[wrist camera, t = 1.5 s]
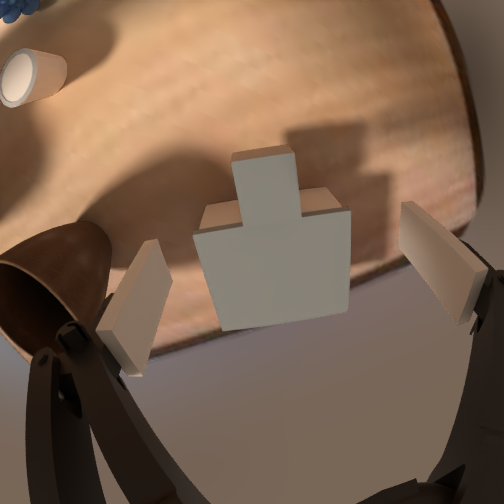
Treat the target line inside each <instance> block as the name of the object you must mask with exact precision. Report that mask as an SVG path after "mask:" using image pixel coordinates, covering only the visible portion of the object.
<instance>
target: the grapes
mask: <svg viewBox="0 0 504 504" xmlns="http://www.w3.org/2000/svg"><path fill="white" fill-rule="evenodd" d="M39 6H40V0H0V19H1V18H2V17H3V21H4V22H5V23H7V24H8V23H13V22H15V21H16V20H17V19H18V18H19V16H20V15H21V12H22V14H24V15H31V14H33V13H34V12H35V11H36V10H37V9H38V8H39Z"/></svg>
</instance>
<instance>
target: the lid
mask: <svg viewBox="0 0 504 504" xmlns="http://www.w3.org/2000/svg"><path fill="white" fill-rule="evenodd" d="M231 166H232V171H233V176H234V182H235V187H236V192H237V197H238V202H239V207H240V212H241V217H242V222H239V223H233V224H227V225H221V226H215V227H209V228H204V229H198V230H194V231H193V234H192V236H193V239H194V243H195V246H196V250H197V253H198V256H199V259H200V263H201V266H202V269H203V272H204V276H205V279H206V282H207V285H208V288H209V291H210V294H211V298H212V301H213V304H214V307H215V310H216V313H217V316H218V319H219V322H220V325H221V327H222V330H223V331H228V330H237V329H245V328H252V327H260V326H267V325H274V324H281V323H287V322H293V321H300V320H305V319H311V318H317V317H323V316H328V315H333V314H339V313H344V312H347V311H348V300H349V284H350V260H351V210H350V209H349V208H348V206H347V207H339V208H332V209H325V210H317V211H310V212H303V213H301V205H300V195H299V186H298V177H297V168H296V160H295V153H294V151H293V150H292V149H291V148H290V147H289V146H288V145H280V146H273V147H266V148H259V149H253V150H247V151H241V152H235V153H233V154H232V159H231Z"/></svg>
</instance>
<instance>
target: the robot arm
mask: <svg viewBox="0 0 504 504" xmlns="http://www.w3.org/2000/svg"><path fill="white" fill-rule="evenodd" d="M398 247H399V249H400V250H401V251H402V252H403V253H404V255H405V256H406V257H407V258H408V260H409V261H410V262H411V263H412V265H413V266H414V267H415V268H416V270H417V271H418V272H419V274H420V275H421V276H422V277H423V279H424V280H425V281H426V283H427V284H428V285H429V287H430V288H431V289H432V291H433V292H434V293H435V295H436V296H437V297H438V299H439V300H440V302H441V303H442V304H443V306H444V307H445V309H446V310H447V312H448V313H449V315H450V316H451V318H452V319H453V320H454V322H455V323H456V325H460V324H462V323H465V322H468V321H469V320H470V318H471V315H472V313H473V311H475V313H476V314H477V315H478V316H477V318H476V321H475V323H474V325H473V327H472V329H471V331H470V335H472V333H473V331H474V335H473V342H472V350H471V355H470V361H469V367H468V372H467V376H466V381H465V386H464V389H463V394H462V398H461V402H460V405H459V409H458V412H457V415H456V419H455V422H454V425H453V428H452V431H451V434H450V437H449V440H448V443H447V445H446V448H445V451H444V453H443V455H442V458H441V460H440V461H439V463H438V464H437V466H436V467H435V468H434V470H433V471H432V473H431V475H430V476H429V478H428V480H427V482H420V483H417V480H416V478H415V479H413V480H410V481H408V482H405V483H402V484H399V485H396V486H394V487H391V488H387V489H384V490H382V491H380V492H378V493H376V494H374V495H373V496H371V497H369V498H367V499H365V500H363V501H361V502H359V503H357V504H504V270H497V271H496V270H495V269H494V268H493V267H492V266H491V265H489V263H488V262H487V261H486V260H485V259H484V258H483V257H482V256H480V255H479V254H478V253H477V252H476V251H475V250H474V249H473V248H472V247H471V246H470V245H469V244H467V243H466V242H464V241H462V240H460V239H457V238H456V237H455V236H454V235H453V234H452V233H451V232H450V231H448V230H447V229H446V228H445V227H444V226H443V225H442V224H440V223H439V222H438V221H437V220H436V219H434V218H433V217H432V216H431V215H430V214H428V213H427V212H426V211H425V210H423V209H422V208H421V207H420V206H418V205H417V204H416V203H415V202H413V201H409V202H401V217H400V229H399V239H398ZM172 282H173V280H172V277H171V275H170V272H169V270H168V267H167V264H166V261H165V259H164V256H163V253H162V250H161V248H160V245H159V242H158V239H153V240H148V241H144V243H143V245H142V246H141V248H140V250H139V251H138V253H137V255H136V256H135V258H134V260H133V261H132V263H131V265H130V266H129V268H128V270H127V272H126V273H125V275H124V277H123V279H122V281H121V282H120V284H119V286H118V288H117V290H116V291H115V293H111V294H110V295H109V296H108V297H107V298H106V299H105V300H104V301H103V303H102V305H101V306H100V310H98V312H97V314H96V316H95V318H94V320H93V321H92V323H91V325H90V327H89V329H88V331H86V329H85V328H84V326H83V325H82V323H81V322H80V321H77V320H74V321H70V322H68V323H66V324H65V325H63V326H62V327H61V328H60V329H59V330H58V332H57V334H56V339H55V340H56V341H57V343H58V344H59V345H60V347H61V348H62V349H63V351H64V353H61V354H57V355H56V354H55V353H54V352H53V350H52V349H51V348H49V347H45V348H42V349H40V350H39V351H37V352H36V353H35V355H34V357H33V358H32V361H31V366H30V374H29V383H28V392H27V405H26V433H25V434H26V436H25V437H26V439H25V440H26V467H27V478H28V487H29V495H30V502H31V504H106V501H105V497H104V494H103V490H102V486H101V483H100V478H99V474H98V470H97V465H96V461H95V455H94V450H93V445H92V439H91V433H90V426H91V429H92V431H93V434H94V436H95V438H96V441H97V443H98V445H99V447H100V449H101V452H102V453H103V456H104V458H105V460H106V462H107V464H108V466H109V468H110V470H111V472H112V474H113V475H114V477H115V479H116V481H117V483H118V484H119V486H120V488H121V490H122V491H123V493H124V495H125V496H126V498H127V500H128V501H129V503H130V504H211V503H210V502H209V501H207V499H206V498H205V497H204V496H203V495H202V494H201V493H200V492H199V491H198V489H197V488H196V487H195V486H194V485H193V483H192V482H191V481H190V480H189V479H188V477H187V476H186V475H185V474H184V472H183V471H182V470H181V469H180V467H179V466H178V465H177V463H176V462H175V461H174V459H173V458H172V457H171V456H170V454H169V453H168V451H167V450H166V449H165V447H164V446H163V444H162V443H161V442H160V440H159V439H158V437H157V436H156V434H155V433H154V431H153V430H152V428H151V427H150V425H149V424H148V422H147V421H146V419H145V417H144V416H143V414H142V413H141V411H140V409H139V408H138V406H137V404H136V403H135V401H134V399H133V397H132V396H131V394H130V392H129V390H128V389H127V387H126V385H125V383H124V382H123V380H122V378H121V377H120V376H119V373H120V370H121V368H122V369H123V371H124V372H125V373H126V374H127V376H143V375H144V372H145V368H146V365H147V361H148V358H149V354H150V351H151V347H152V344H153V341H154V337H155V334H156V331H157V327H158V324H159V321H160V318H161V315H162V312H163V309H164V305H165V302H166V299H167V296H168V293H169V290H170V287H171V284H172ZM89 424H90V425H89Z"/></svg>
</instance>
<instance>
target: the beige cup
mask: <svg viewBox="0 0 504 504" xmlns="http://www.w3.org/2000/svg"><path fill="white" fill-rule="evenodd" d="M67 69H68V68H67V64H66V61H65V60H64V58H63V57H62V56H58V55H55V54H51V53H46V52H42V51H38V50H33V49H28V48H22V49H19V50H16V51H15V52H14V53H13V54H12V55H11V56H10V57H9V58H8V59H7V61H6V62H5V64H4V66H3V68H2V70H1V73H0V100H1V101H2V103H3V104H4V105H5V106H7V107H10V108H12V107H17V106H20V105H23V104H26V103H29V102H32V101H35V100H39V99H42V98H45V97H49V96H52V95H54V94H55V93H57V92H58V91H59V90H60V88H61V87H62V86H63V84H64V82H65V79H66V77H67Z"/></svg>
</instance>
